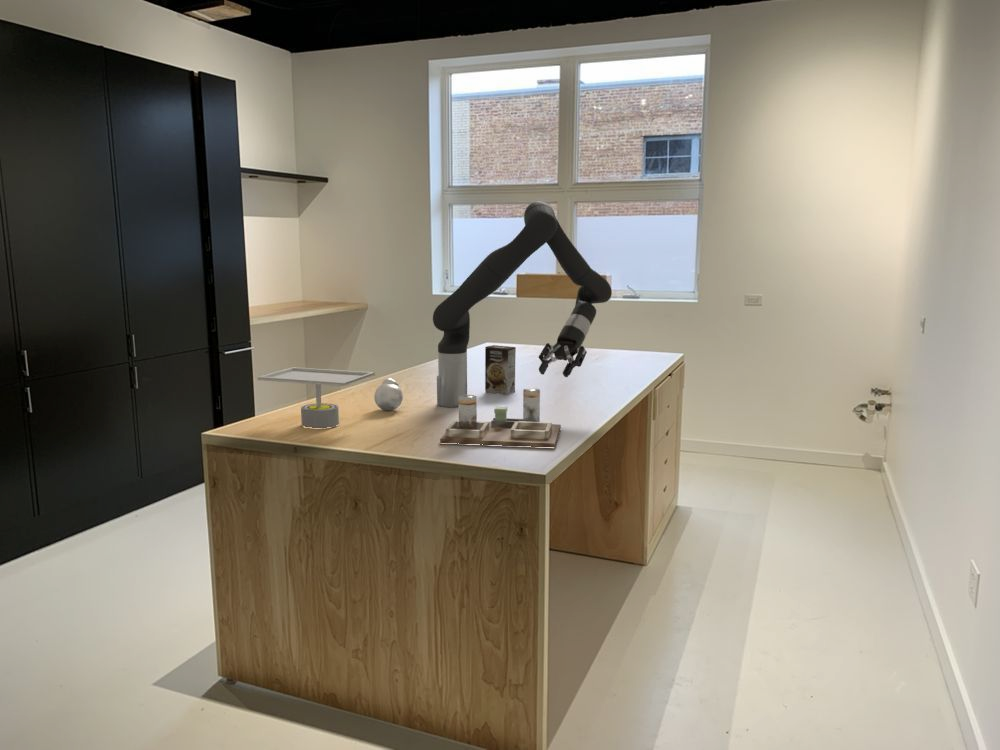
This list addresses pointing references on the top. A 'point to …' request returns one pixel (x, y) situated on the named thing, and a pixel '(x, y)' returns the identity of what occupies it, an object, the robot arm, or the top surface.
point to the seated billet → (468, 412)
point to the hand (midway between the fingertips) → (552, 374)
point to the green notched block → (500, 413)
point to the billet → (531, 404)
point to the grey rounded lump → (388, 395)
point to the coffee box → (500, 369)
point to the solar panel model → (318, 391)
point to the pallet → (505, 433)
